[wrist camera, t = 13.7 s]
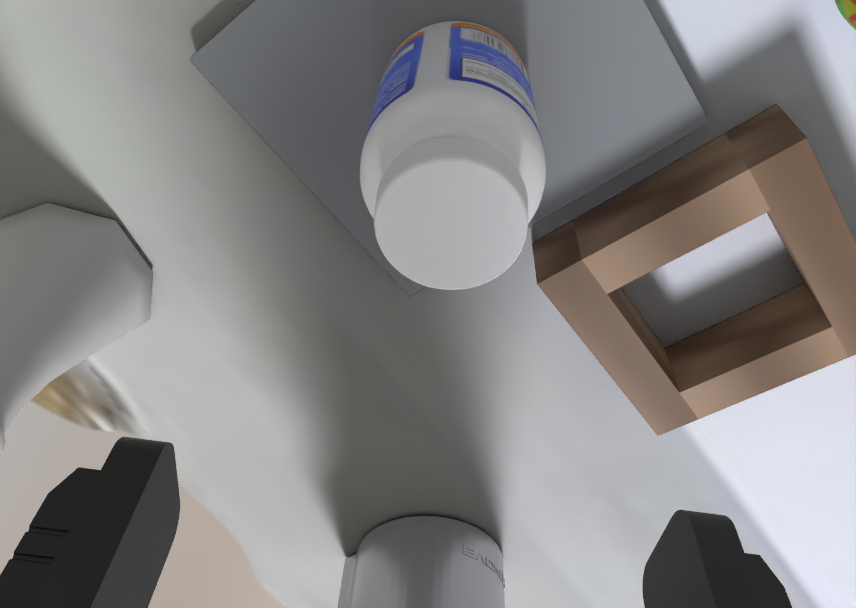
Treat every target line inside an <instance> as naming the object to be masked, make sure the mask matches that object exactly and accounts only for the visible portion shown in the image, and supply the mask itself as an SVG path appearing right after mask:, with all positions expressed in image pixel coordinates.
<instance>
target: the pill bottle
mask: <svg viewBox="0 0 856 608" xmlns="http://www.w3.org/2000/svg"><path fill="white" fill-rule="evenodd" d="M545 181H546V162H545V153H544V147H543V142H542V138H541V132H540V128H539V122H538V117H537V113H536V108H535V103H534V99H533V94H532V90H531V85H530V80H529V77H528V73H527V71H526V68H525V66H524V63H523V62H522V60H521V58H520V56H519V55H518V53H517V51H516V50H515V49H514V47H513V46H512V45H511V44H510V43H509V42H508V41H507V40H506V39H505V38H503V37H502V36H501V35H499V34H498V33H496V32H495V31H493V30H491V29H489V28H487V27H485V26H482V25H479V24H475V23H471V22H464V21H447V22H440V23H436V24H433V25H430V26H427V27H425V28H422V29H420V30H419V31H417V32H415V33H414V34H412V35H411V36H409V37H408V38H407V39H406V40H405V41H404V42H403V43H402V44H401V45H400V46H399V47H398V48H397V50H396V51H395V52H394V54H393V55H392V57H391V58H390V60H389V62H388V64H387V66H386V68H385V71H384V73H383V76H382V80H381V83H380V87H379V91H378V94H377V98H376V101H375V105H374V108H373V112H372V115H371V119H370V123H369V127H368V130H367V133H366V137H365V141H364V145H363V150H362V155H361V163H360V184H361V190H362V194H363V198H364V201H365V203H366V206H367V208H368V210H369V212H370V214H371V216H372V217H373V219H374V228H375V235H376V239H377V242H378V244H379V246H380V248H381V251H382V253H383V254H384V256H385V257H386V258H387V260H388V261H389V262H390V264H391V265H392V266H393V267H394V268H395V269H397V270H398V271H399V272H400V273H401V274H403V275H404V276H406V277H407V278H409V279H411V280H412V281H414V282H416V283H419V284H421V285H424V286H427V287H431V288H435V289H442V290H462V289H469V288H473V287H477V286H480V285H483V284H485V283H487V282H489V281H491V280H493V279H495V278H496V277H498V276H500V275H501V274H502V273H504V272H505V271H506V270H507V269H508V268H509V267H510V266H511V265H512V264H513V263H514V261H515V260H516V259H517V257H518V256H519V254H520V252H521V250H522V248H523V246H524V243H525V240H526V237H527V232H528V224H529V222H530V221H531V219H532V218H533V216H534V214H535V212H536V211H537V209H538V206H539V204H540V201H541V198H542V194H543V190H544V186H545Z"/></svg>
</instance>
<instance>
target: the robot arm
mask: <svg viewBox="0 0 856 608" xmlns="http://www.w3.org/2000/svg"><path fill="white" fill-rule="evenodd" d="M179 512H180V498H179V488H178V479H177V470H176V461H175V452H174V447H173V445H172V443H169V442H161V441H153V440H145V439H138V438H129V437H122V438H120V439H119V440H118V441H117V442H116V443H115V445H114V447H113V448H112V450H111V452H110V454H109V456H108V458H107V460H106V462H105V463H104V465H103V467H102V469H101V470H94V469H86V468H77V469H76V470H75V471H74V472H73V473H72V474H70V476H68V477H67V478H66V479H65V480H63V481H62V482H61V483H60V484H59V485H58V486H56V487H55V488H54V489H53V490H52V491H51V492H49V493H48V495H47V497H46V498H45V500H44V502H43V503H42V505H41V507H40V509H39V510H38V512H37V514H36V515H35V517H34V519H33V520H32V522H31V524H30V527H29V531H28V532H26V533H25V534H24V536H23V538H22V539H21V541H20V543H19V544H18V546H17V548H16V549H15V551H14V556H13V558H12V559H10V560H9V561H8V563H7V565H6V567H5V568H4V570H3V572H2V573H1V575H0V608H148V605H149V603H150V600H151V598H152V595H153V592H154V590H155V587H156V585H157V582H158V579H159V577H160V574H161V572H162V569H163V566H164V564H165V561H166V559H167V556H168V553H169V551H170V548H171V546H172V543H173V540H174V537H175V534H176V530H177V525H178V520H179ZM504 588H505V583H504V576H503V558H502V553H501V551H500V549H499V547H498V545H497V544H496V543H495V541H494V540H493V539H492V538H491V537H490V536H488V535H487V534H486V533H484V532H483V531H482V530H480V529H478V528H476V527H474V526H472V525H470V524H468V523H464V522H461V521H458V520H455V519H450V518H444V517H437V516H414V517H405V518H401V519H397V520H393V521H389V522H387V523H385V524H383V525H380V526H378V527H376V528H375V529H374V530H372V531H371V532H369V533H368V534H367V535H366V536H365V538H364V539H363V540H362V541H361V543H360V546H359V548H358V551H357V552H356V554H354V555H353V556H350V557H348V558H346V559H345V564H344V570H343V576H342V583H341V589H340V595H339V602H338V608H505V601H504ZM643 599H644V605H645V608H792V606H791V603H790V601H789V598H788V596H787V593H786V591H785V588H784V586H783V585H782V584H781V582H780V581H779V580H778V578H777V577H776V576H775V574H774V573H773V572H772V571H771V569H770V568H769V567H768V565H767V564H766V563H765V562H764V560H763V559H762V558H761V556H760V555H755V554H747V553H744V551H743V548H742V545H741V542H740V539H739V537H738V534H737V531H736V528H735V526H734V524H733V522H732V521H731V520H730V518H728V517H727V516H724V515H717V514H709V513H701V512H693V511H685V510H678V511H676V512H675V513H674V515H673V516H672V518H671V520H670V521H669V523H668V525H667V527H666V529H665V530H664V532H663V534H662V536H661V538H660V539H659V541H658V543H657V545H656V547H655V548H654V550H653V552H652V554H651V556H650V557H649V559H648V561H647V563H646V566H645V570H644V575H643Z"/></svg>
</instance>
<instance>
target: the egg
mask: <svg viewBox="0 0 856 608" xmlns="http://www.w3.org/2000/svg"><path fill="white" fill-rule="evenodd" d="M835 2H836V5H837V7H838V9H839V11H840V12H841V14H842V15H843V17H844V18H845V19H846V21H847V22H848V23H849V24H850V25H851V26H852V27H853V28H854V29H855V30H856V0H835Z"/></svg>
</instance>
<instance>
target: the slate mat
mask: <svg viewBox="0 0 856 608" xmlns="http://www.w3.org/2000/svg"><path fill="white" fill-rule="evenodd" d="M447 21H464V22H471V23H475V24H479V25H482V26H485V27H487V28H489V29H491V30H493V31H495V32H496V33H498V34H499V35H501V36H502V37H503V38H505V39H506V40H507V41H508V42H509V43H510V44H511V45H512V46H513V47H514V49H515V50H516V51H517V53H518V55H519V56H520V58H521V60H522V62H523V63H524V66H525V68H526V71H527V73H528V77H529V80H530V85H531V90H532V94H533V99H534V103H535V108H536V113H537V117H538V122H539V128H540V132H541V138H542V142H543V147H544V153H545V162H546V181H545V186H544V190H543V194H542V198H541V201H540V204H539V206H538V209H537V211H536V212H535V214H534V216H533V218H532V219H531V221H530V222H529V224H528V228H529V227H530V226H532V225H534V224H535V223H537V222H539V221H541V220H542V219H544V218H546V217H548V216H549V215H551V214H553V213H554V212H556V211H558V210H560V209H561V208H563V207H565V206H566V205H568V204H570V203H572V202H573V201H575V200H577V199H578V198H580V197H582V196H584V195H585V194H587V193H589V192H590V191H592V190H594V189H596V188H597V187H599V186H601V185H603V184H604V183H606V182H608V181H609V180H611V179H613V178H615V177H616V176H618V175H620V174H621V173H623V172H625V171H627V170H628V169H630V168H632V167H633V166H635V165H637V164H639V163H640V162H642V161H644V160H645V159H647V158H649V157H651V156H652V155H654V154H656V153H658V152H659V151H661V150H663V149H664V148H666V147H668V146H670V145H671V144H673V143H675V142H676V141H678V140H680V139H682V138H683V137H685V136H687V135H688V134H690V133H692V132H694V131H695V130H697V129H699V128H700V127H702V126H704V125H706V124H707V123H709V120H708V118H707V116H706V114H705V113H704V111H703V109H702V107H701V105H700V103H699V102H698V100H697V98H696V96H695V94H694V92H693V90H692V89H691V87H690V85H689V83H688V81H687V79H686V78H685V76H684V74H683V72H682V70H681V68H680V66H679V65H678V63H677V61H676V59H675V57H674V55H673V54H672V52H671V50H670V48H669V46H668V44H667V42H666V41H665V39H664V37H663V35H662V33H661V31H660V29H659V28H658V26H657V24H656V22H655V20H654V18H653V17H652V15H651V13H650V11H649V9H648V7H647V5H646V4H645V2H644V0H254V1H253V2H252V3H251V4H250V5H249V6H248V7H246V8H245V9H244V10H243V11H242V12H241V13H240V14H239V15H237V16H236V17H235V18H234V19H233V20H232V21H231V22H229V23H228V24H227V25H226V26H225V27H224V28H223V29H222V30H220V31H219V32H218V33H217V34H216V35H215V36H214V37H213V38H211V39H210V40H209V41H208V42H207V43H206V44H205V45H204V46H202V47H201V48H200V49H199V50H198V51H197V52H196V53H195V54H194V55H193V56H192V57H191V58H190V59H189V60H190V62H191V63H192V64H193V65H194V66H195V67H196V68H197V69H198V70H199V71H200V72H201V73H202V74H203V76H204V77H205V78H206V79H207V80H208V81H209V82H210V83H211V84H212V85H213V86H214V87H215V88H216V90H217V91H218V92H219V93H220V94H221V95H222V96H223V97H224V98H225V99H226V100H227V101H228V102H229V103H230V105H231V106H232V107H233V108H234V109H235V110H236V111H237V112H238V113H239V114H240V115H241V116H242V117H243V119H244V120H245V121H246V122H247V123H248V124H249V125H250V126H251V127H252V128H253V129H254V130H255V131H256V133H257V134H258V135H259V136H260V137H261V138H262V139H263V140H264V141H265V142H266V143H267V144H268V145H269V147H270V148H271V149H272V150H273V151H274V152H275V153H276V154H277V155H278V156H279V157H280V158H281V159H282V160H283V162H284V163H285V164H286V165H287V166H288V167H289V168H290V169H291V170H292V171H293V172H294V173H295V174H296V176H297V177H298V178H299V179H300V180H301V181H302V182H303V183H304V184H305V185H306V186H307V187H308V188H309V190H310V191H311V192H312V193H313V194H314V195H315V196H316V197H317V198H318V199H319V200H320V201H321V202H322V203H323V205H324V206H325V207H326V208H327V209H328V210H329V211H330V212H331V213H332V214H333V215H334V216H335V217H336V219H337V220H338V221H339V222H340V223H341V224H342V225H343V226H344V227H345V228H346V229H347V230H348V231H349V233H350V234H351V235H352V236H353V237H354V238H355V239H356V240H357V241H358V242H359V243H360V244H361V245H362V247H363V248H364V249H365V250H366V251H367V252H368V253H369V254H370V255H371V256H372V257H373V258H374V259H375V260H376V262H377V263H378V264H379V265H380V266H381V267H382V268H383V269H384V270H385V271H386V272H387V273H388V274H389V276H390V277H391V278H392V279H393V280H394V281H395V282H396V283H397V284H398V285H399V286H400V287H401V288H402V290H403V291H404V292H405V293H406V294H407V295H408V296H409V297H410V296H412V295H413V294H415V293H417V292H419V291H420V290H422V289H424V288H426V287H427V286H424V285H421V284H419V283H416V282H414V281H412V280H411V279H409V278H407V277H406V276H404V275H403V274H401V273H400V272H399V271H398V270H397V269H395V268H394V267H393V266H392V265H391V264H390V262H389V261H388V260H387V258H386V257H385V256H384V254H383V253H382V251H381V248H380V246H379V244H378V242H377V239H376V235H375V228H374V219H373V217H372V216H371V214H370V212H369V210H368V208H367V206H366V203H365V201H364V198H363V194H362V190H361V184H360V163H361V155H362V150H363V145H364V141H365V137H366V133H367V130H368V127H369V123H370V119H371V115H372V112H373V108H374V105H375V101H376V98H377V94H378V91H379V87H380V83H381V80H382V76H383V73H384V71H385V68H386V66H387V64H388V62H389V60H390V58H391V57H392V55H393V54H394V52H395V51H396V50H397V48H398V47H399V46H400V45H401V44H402V43H403V42H404V41H405V40H406V39H407V38H408V37H409V36H411V35H412V34H414V33H415V32H417V31H419V30H420V29H422V28H425V27H427V26H430V25H433V24H436V23H440V22H447Z"/></svg>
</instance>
